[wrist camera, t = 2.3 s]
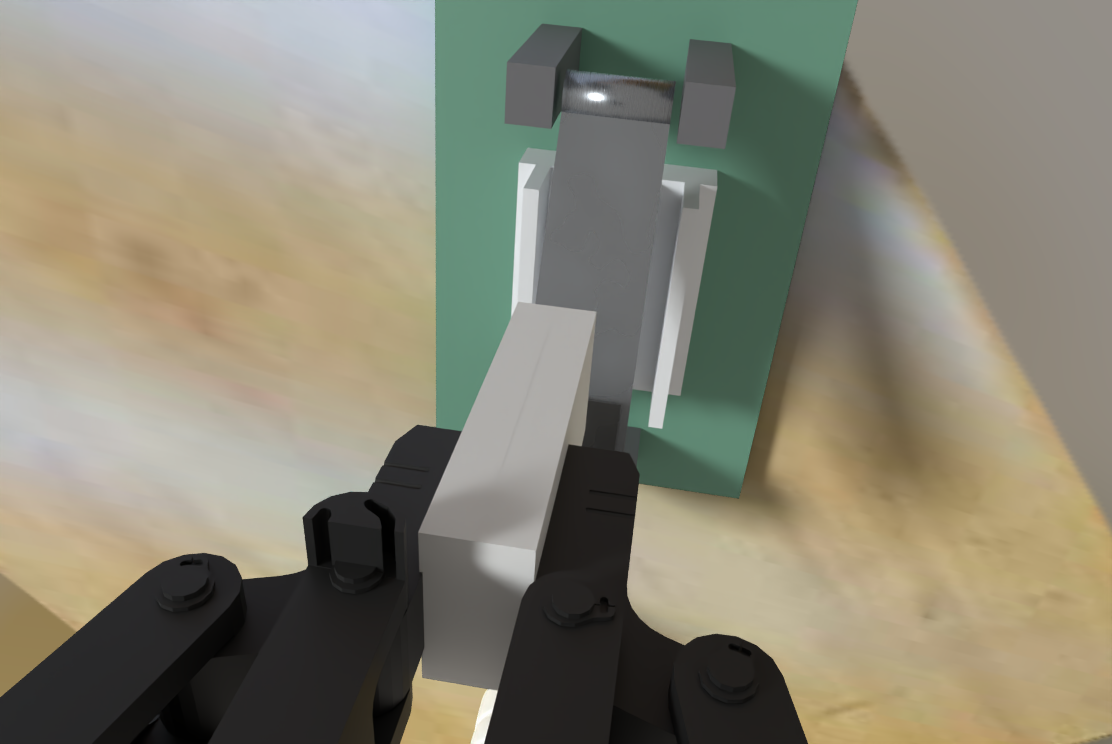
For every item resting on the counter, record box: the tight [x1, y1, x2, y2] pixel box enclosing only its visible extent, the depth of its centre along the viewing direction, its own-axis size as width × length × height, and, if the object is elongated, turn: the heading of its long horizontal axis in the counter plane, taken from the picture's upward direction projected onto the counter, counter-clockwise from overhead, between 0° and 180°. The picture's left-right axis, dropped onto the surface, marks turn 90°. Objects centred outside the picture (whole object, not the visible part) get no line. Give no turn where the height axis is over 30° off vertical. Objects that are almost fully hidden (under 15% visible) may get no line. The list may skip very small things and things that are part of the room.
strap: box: [535, 69, 676, 452], centre depth 29 cm, size 17×4×2 cm
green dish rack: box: [435, 0, 858, 499], centre depth 37 cm, size 24×16×8 cm, turn 176°
